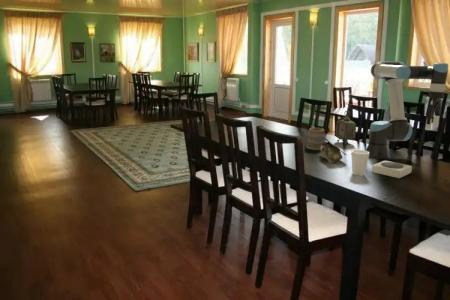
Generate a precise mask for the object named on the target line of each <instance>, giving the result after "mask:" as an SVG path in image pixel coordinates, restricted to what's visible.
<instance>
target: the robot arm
mask: <svg viewBox="0 0 450 300" xmlns="http://www.w3.org/2000/svg"><path fill="white" fill-rule="evenodd" d="M448 72H449V64H448V63H447V62H446V63H444V62H442V63H441V62H435V63H433V65H432V66H431V65H406V63H404V62H403V61H397V60H396V61H377V62H375V63H373V64H372V66H371V68H370V74H371V76H372V77H373V78H375V79H379V80H384V81H385V84H386V85H387V89H388V101H389V103H388V104H389V113H390V114H389V115H390V119H389V120H388V121H387V120H379V121H373V122H371V124H370V127H369V137H368V145H367V146H366V149H365V151H368V152H369V157H368V159H374V160H375V159H376V160H386V159H389V158H390V157H389V156H390V153H389V149H388V142H398V141H399V142H404V141H405V142H406V141H408V140H409V139H411V136H412V135H413V126H412V124H411V123H409V121H408V119H407V118H406V117H405V104H404V95H403V93H404V92H403V82H404V81H405V80H429V81H430V85H429V92H428V99H431V100H429V103H428V107H427V110H426V114H425V116H424V119H426V120H425V127H424V130H425V131H431V130H432V127H433V128H438V127H439V123H440V117H441V116H442V100H443V99H444V98H445V91H446V88H447V84H446V83H447V78H448Z"/></svg>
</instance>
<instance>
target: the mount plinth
mask: <svg viewBox="0 0 450 300" xmlns="http://www.w3.org/2000/svg"><path fill="white" fill-rule="evenodd" d="M412 169H413V167H412V165H409V164H403V163H400V162H395V161H394V162H393V161H389V160H382V161H380V162H377V163H375V164H372V166H371V173H375V174H379V175H380V174H381V175H384V176H388V177H393V178H396V179H401V178H402V177H406V176H407V175H409V174H411V173H412Z"/></svg>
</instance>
